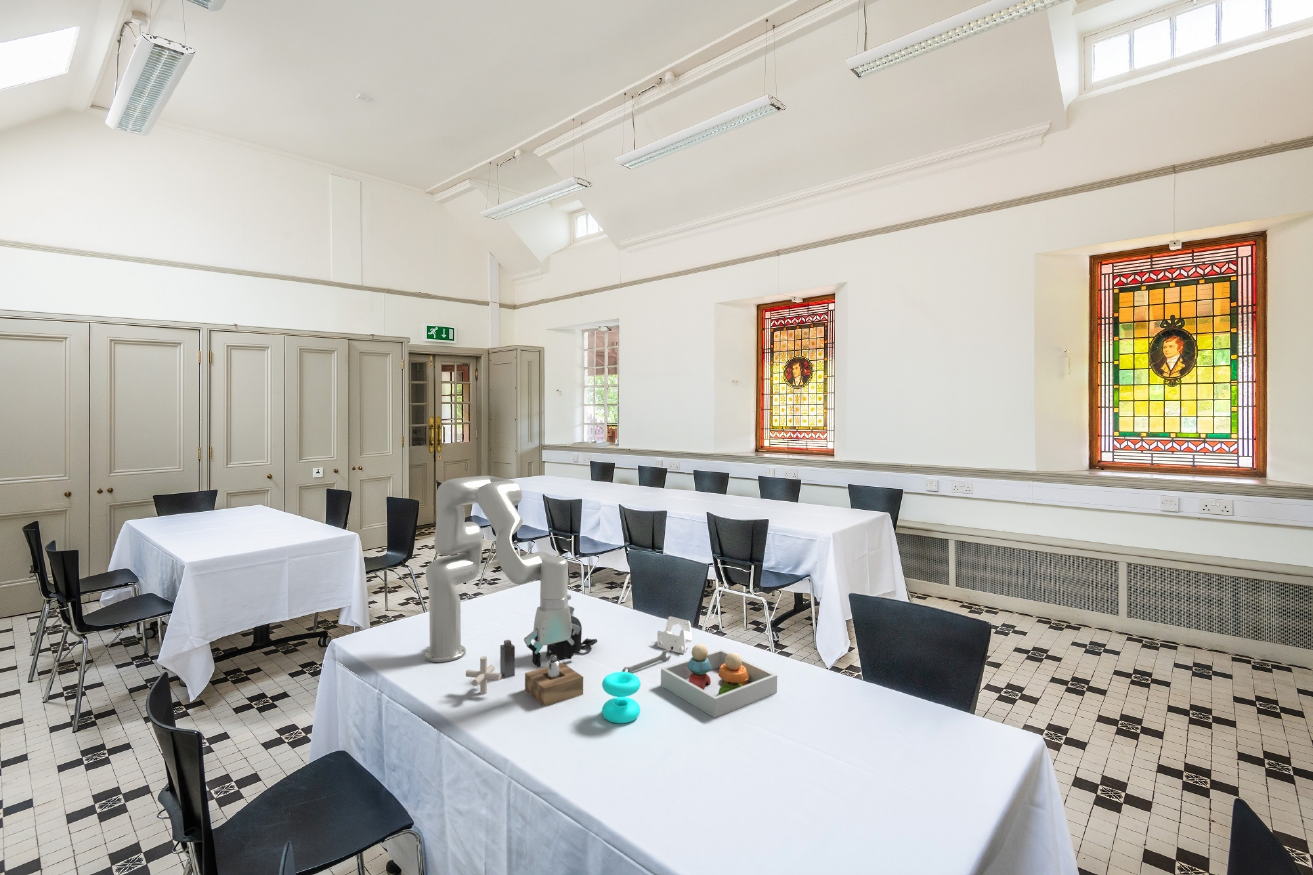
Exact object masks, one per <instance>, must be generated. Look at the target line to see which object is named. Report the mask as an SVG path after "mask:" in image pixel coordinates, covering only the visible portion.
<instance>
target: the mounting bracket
mask: <svg viewBox="0 0 1313 875" xmlns="http://www.w3.org/2000/svg"><path fill="white" fill-rule="evenodd" d="M676 625H679V626H680V627H681V630H680V632H679V635H676V634H674V632H672V630H673V628H674V627H675V626H676ZM691 626H692V625H691V622H690V620H689V619H688V620H686V619H683V618H680V617H674V616H671V615H670V616H668V617H667V622H666V625H665V630H663V631H661V630H658V631H657V637H656V638H657V643H656V644H657V646H658V648H661V649H663V650H670V651H671V652H674V653H678V654H685V653H686V652H687V643H691V642H692V640H693V638H692V627H691Z"/></svg>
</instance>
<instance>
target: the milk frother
mask: <svg viewBox="0 0 1313 875" xmlns="http://www.w3.org/2000/svg"><path fill="white" fill-rule="evenodd" d="M569 608H570V614H571V623H572V624H575V625H578V626H579V627H581V629H580V632H579V634H578V637H577V639H576V640H575V641H574V644H573V645H572V654H571V657H573V656H574V655H575V654H577V653H578V654H579V653H580V652H581V650H583V649H586V648H589V647H592V646H593V645H595V644H597V643H598V639H597V638H593V639H591V638H589V637H587V638H585V639H584V640H582V636H583V633H582V632H583V627H582V623H581V621H580V619H579V618H578V617H577V616H575V615H574V611H575V608H574V606H570V605H569ZM573 631H574V629H572V630H571V634H572V633H573ZM565 642H566V640H565V641H561V642H557V643H553V644H549V645H546V653H545V654H546V657H547V658H550V656H551V655H557V659H558V660H562V659H567V658H566V657H565V656H564V643H565Z"/></svg>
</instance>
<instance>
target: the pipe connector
mask: <svg viewBox="0 0 1313 875" xmlns="http://www.w3.org/2000/svg"><path fill="white" fill-rule="evenodd" d="M495 670H496V667H495V666H494V665H493V664H490V665H488V657H487V656H481V657H480V661H479V670H472V669H467V670H466V671H465V677H467V678H474V679H473V680H472V681H471V685H472V686H473V687H477V686H478V685H479V691H480V694H481V695H485V694H487V693H488V680H492V681H493V680H496V681H500V680H501V679H502V676H501V673H500V672H494V671H495Z"/></svg>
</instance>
